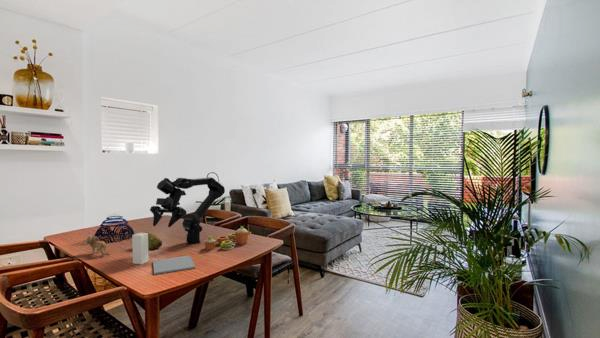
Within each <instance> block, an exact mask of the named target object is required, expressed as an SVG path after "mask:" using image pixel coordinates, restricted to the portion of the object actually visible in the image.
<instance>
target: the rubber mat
mask: <svg viewBox="0 0 600 338" xmlns="http://www.w3.org/2000/svg"><path fill="white" fill-rule="evenodd" d="M152 263H153V275H154V276H155V275H160V274H161V273H162V274H167V272H169V273H174V271H175V272H180V270H181V271H185V270H186V271H187V270H192V269H193V270H194V269H196V266H195V263H194V261H193V259H192V257H191V255H183V256H176V257H170V258H169V257H168V258H163V259H161V258H160V259H156V260H152Z"/></svg>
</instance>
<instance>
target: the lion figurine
mask: <svg viewBox="0 0 600 338" xmlns="http://www.w3.org/2000/svg"><path fill="white" fill-rule="evenodd" d="M99 239H100V238H97V237H96V236H95V234H90V235H88V237H87V238H86V239H85V240H84V243H85V244H86V245H89V246H90V247H91V249H92V252H91V255H95V254H96V253H100V254H101V255H100V257H101V258H102V257H104V256H105V255H107V256H110V255H111V254H109V253H108V251H107V244H106V243H105V242H104V241H103V240H101V241H100V240H99ZM96 249H97V250H96ZM103 251H104V252H103Z"/></svg>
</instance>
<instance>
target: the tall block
mask: <svg viewBox="0 0 600 338" xmlns="http://www.w3.org/2000/svg"><path fill="white" fill-rule="evenodd" d="M131 241H132V264H135V265H137V264H138V265H143V264H145V263H147V262H149V249H148V233H143V232H140V231H139V232H137V233H134V235H132V238H131Z"/></svg>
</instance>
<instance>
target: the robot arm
mask: <svg viewBox="0 0 600 338" xmlns="http://www.w3.org/2000/svg"><path fill="white" fill-rule="evenodd" d="M205 185H207V188H208V195H207V197H206V198H205V199H204V200H203V202H201V203H200V204H199V206H198V207H197V208H196V209H195V211H194V212H193V213H192V214H190V213H188V214H187V210H186V209H184V208H183V207H182V206H180V204H181V203H180V200H181V198H182V197H183V196H186V195H187V194H186V192H185V190H187V189H191V188H192V187H197V186H205ZM157 189H158V190H159V191H161V192H162V193H164V194H165V195H168V196H166V197H165V198H164V197H161V198H159V197H157V198H156V200H155V204H156V205H153V206H151V207H150V209H149V211H150V212H151V213H152V215H153V223H152V226H153V227H156V226H157V225H158V223H159V222H160V220H162V217H163V215H164V213H165V214H167V213H168V214H171V217H170V219H169V222H168V224H167V227H168V228H171V227H172V226H174V224H175V223H176V222H178V221H179V220H180V219H183V221H182V228H184V231H185V232H186V234H185V239H186V240H185V241H186V243H187V245H192V244H193V245H194V244H200V243H201V240H200V239H201V238H200V236H201V235H200V233H201V232H202V231H203V227H202V226H201V219H202V217H204V215H205V214H206V212H207V211H208V210H209V209H210V207H211V206H212V205H213V203H214V202H215V201H216V200H218V199H219V198H221V197H222V196H223V195H224V194H225V192H226V191H225V187H224V185H222V184H221V183H220V182H218V181H217V180H216V179H215V178H214V177H210V176H209V177H208V176H207V177H201V178H200V177H198V178H187V177H178V178H177V177H176V180H174V181H171V180H170V179H169V178H167V177H164V178H163V179H162V180H160V181H159V182H158V183H157V186H156V190H157ZM184 189H185V190H184Z"/></svg>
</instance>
